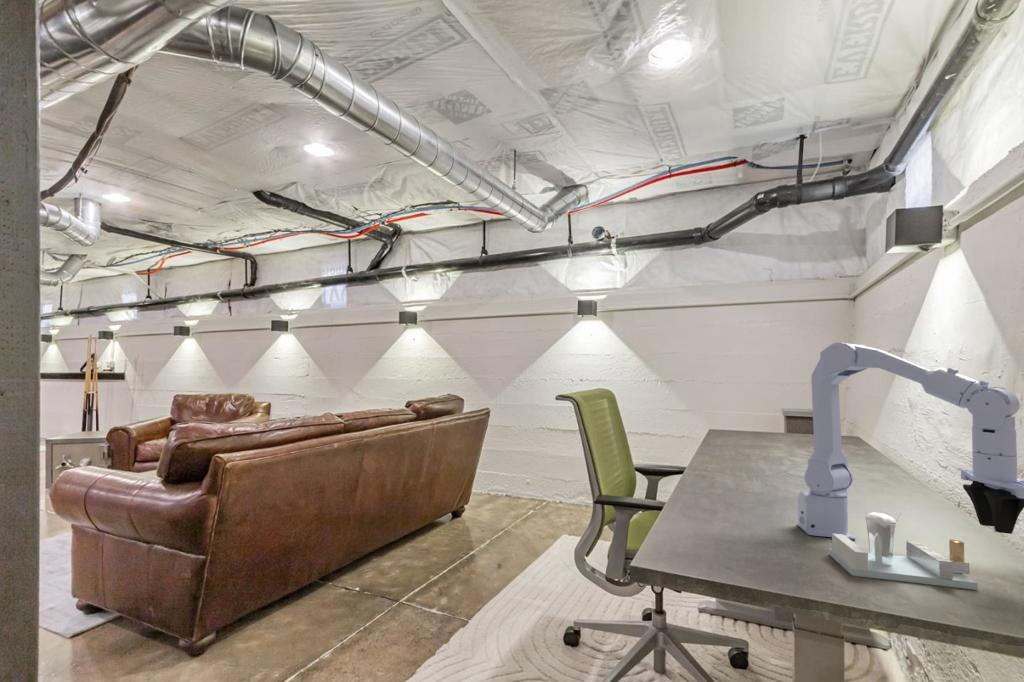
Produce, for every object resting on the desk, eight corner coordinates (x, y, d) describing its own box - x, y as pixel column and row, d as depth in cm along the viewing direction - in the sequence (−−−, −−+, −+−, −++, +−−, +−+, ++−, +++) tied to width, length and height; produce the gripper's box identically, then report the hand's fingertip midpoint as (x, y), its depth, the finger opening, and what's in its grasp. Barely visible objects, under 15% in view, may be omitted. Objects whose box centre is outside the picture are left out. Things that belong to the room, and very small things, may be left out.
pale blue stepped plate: (852, 575, 87) (852, 551, 87) (829, 554, 96) (829, 533, 96) (976, 589, 82) (976, 564, 82) (939, 566, 92) (939, 543, 92)
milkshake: (898, 571, 86) (898, 515, 87) (863, 561, 90) (862, 508, 91) (904, 564, 89) (903, 510, 90) (869, 555, 93) (869, 504, 94)
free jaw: (939, 578, 84) (939, 547, 84) (906, 556, 93) (906, 529, 94) (983, 583, 82) (983, 552, 82) (945, 560, 92) (945, 532, 92)
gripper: (1056, 462, 79) (1058, 546, 78) (990, 448, 93) (991, 518, 92) (1004, 459, 80) (1006, 541, 80) (947, 446, 95) (949, 515, 94)
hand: (995, 529), depth 86 cm, fingers open, 3 cm apart
